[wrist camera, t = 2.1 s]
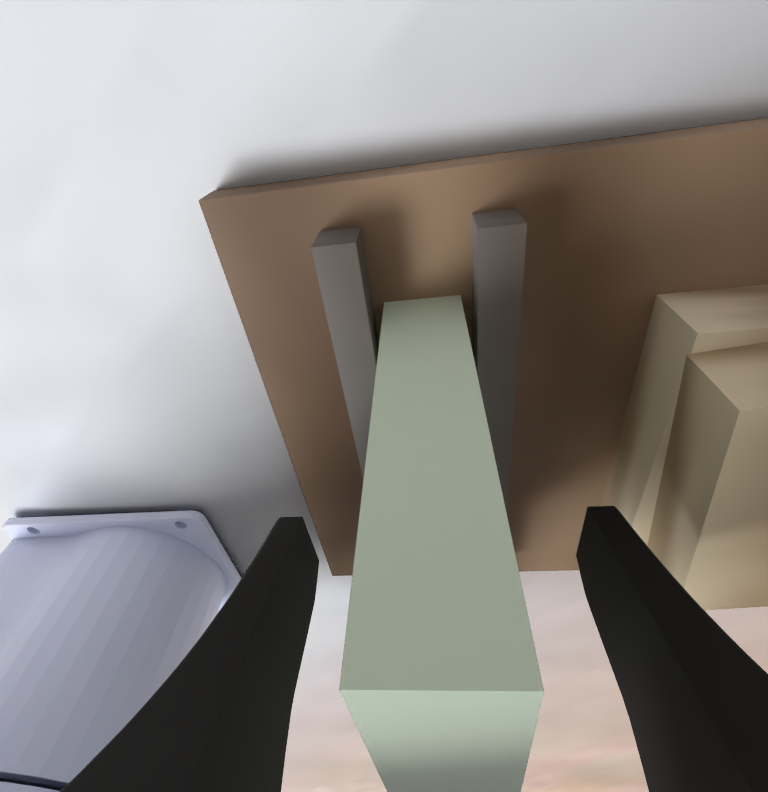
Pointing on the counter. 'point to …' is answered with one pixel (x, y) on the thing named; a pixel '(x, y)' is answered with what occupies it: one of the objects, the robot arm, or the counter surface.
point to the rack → (489, 301)
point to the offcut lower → (673, 385)
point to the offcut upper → (717, 481)
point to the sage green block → (436, 574)
